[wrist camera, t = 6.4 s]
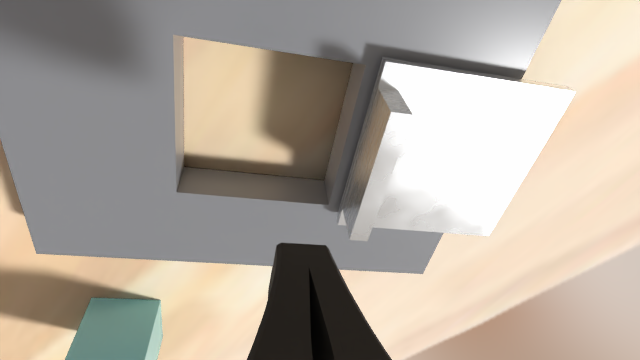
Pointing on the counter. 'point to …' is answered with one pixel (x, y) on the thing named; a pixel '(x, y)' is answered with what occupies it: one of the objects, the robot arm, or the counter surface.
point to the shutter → (445, 148)
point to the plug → (118, 330)
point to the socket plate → (168, 120)
